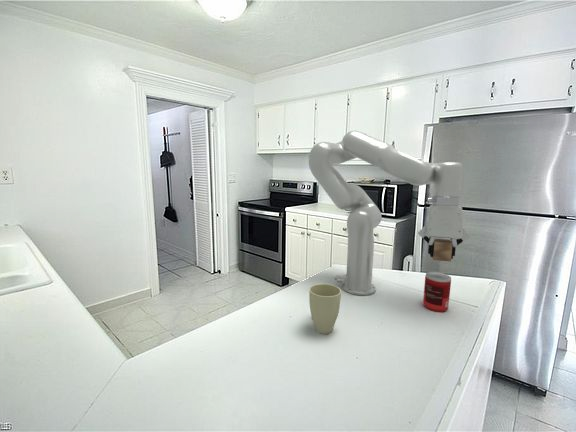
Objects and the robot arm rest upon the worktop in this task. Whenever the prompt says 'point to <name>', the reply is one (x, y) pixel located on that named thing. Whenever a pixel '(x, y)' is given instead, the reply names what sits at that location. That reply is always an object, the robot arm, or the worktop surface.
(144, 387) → the worktop surface
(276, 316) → the worktop surface
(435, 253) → the walnut block
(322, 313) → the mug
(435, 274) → the canned food
